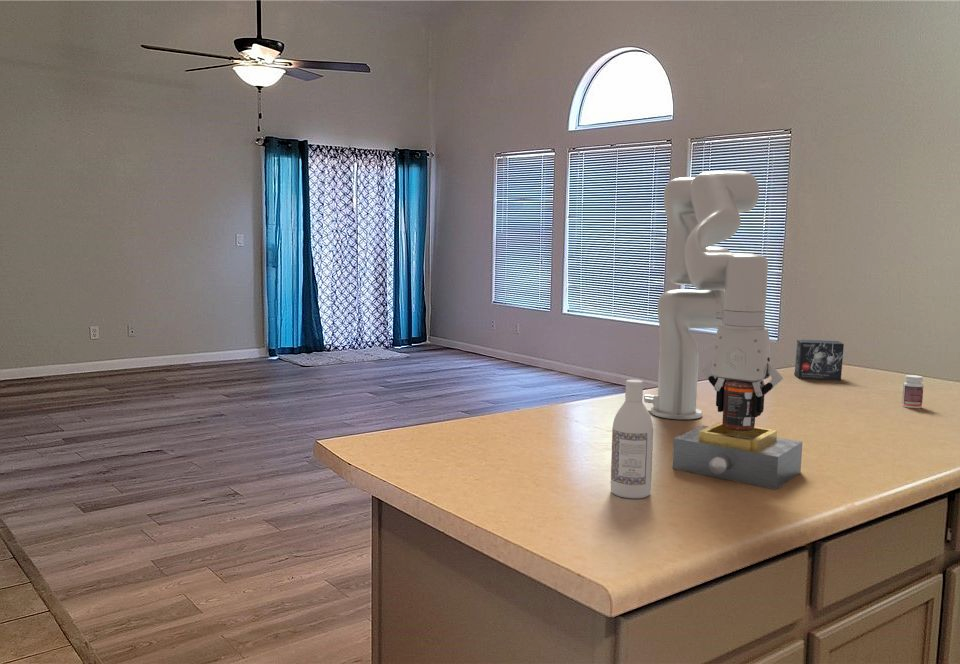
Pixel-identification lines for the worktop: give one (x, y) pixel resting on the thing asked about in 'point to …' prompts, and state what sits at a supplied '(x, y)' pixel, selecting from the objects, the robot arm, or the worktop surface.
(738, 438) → the grey boxy piece
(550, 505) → the worktop surface
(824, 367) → the small box
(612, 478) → the bath foam
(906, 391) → the pill bottle
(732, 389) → the supplement bottle
